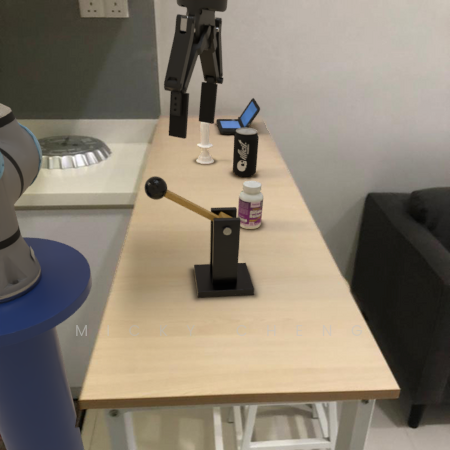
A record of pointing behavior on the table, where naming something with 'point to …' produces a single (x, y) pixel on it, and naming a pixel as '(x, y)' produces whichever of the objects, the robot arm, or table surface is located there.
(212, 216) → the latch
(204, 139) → the candle
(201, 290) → the stand
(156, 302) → the table surface
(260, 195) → the pill bottle
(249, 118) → the game console
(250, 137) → the beverage can
